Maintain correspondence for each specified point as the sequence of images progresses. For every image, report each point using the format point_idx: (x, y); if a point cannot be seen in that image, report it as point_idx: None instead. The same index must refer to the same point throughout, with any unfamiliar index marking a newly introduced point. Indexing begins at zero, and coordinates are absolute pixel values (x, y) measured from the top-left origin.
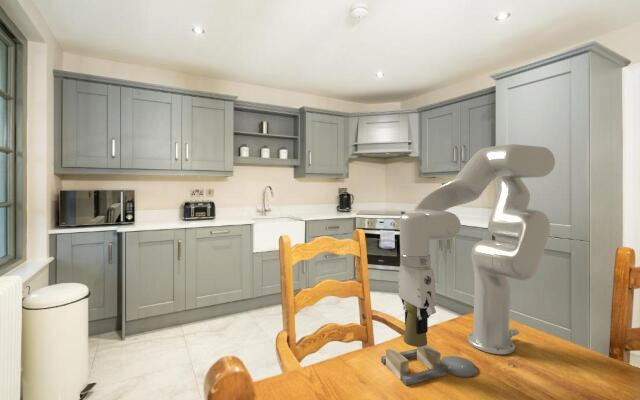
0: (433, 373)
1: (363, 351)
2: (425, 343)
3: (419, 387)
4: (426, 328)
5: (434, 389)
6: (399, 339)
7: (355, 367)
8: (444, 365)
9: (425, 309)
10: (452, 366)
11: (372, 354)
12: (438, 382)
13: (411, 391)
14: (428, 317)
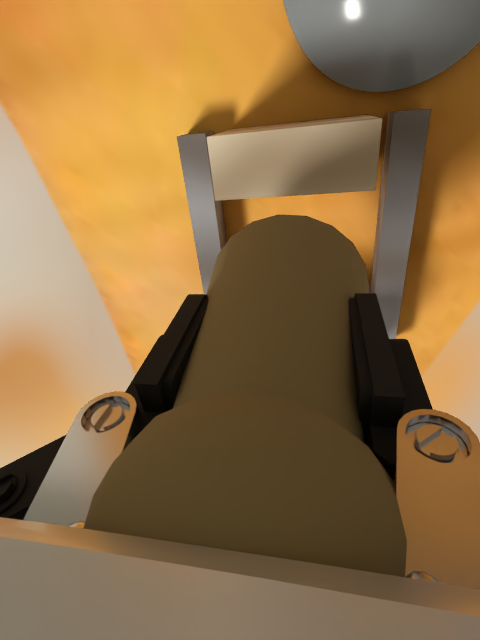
0: (413, 211)
1: (137, 353)
2: (364, 270)
3: (425, 302)
4: (410, 352)
5: (473, 255)
6: (36, 153)
7: None
8: (363, 68)
9: (446, 560)
10: (397, 13)
11: None
12: (446, 202)
13: (427, 341)
14: (467, 436)
